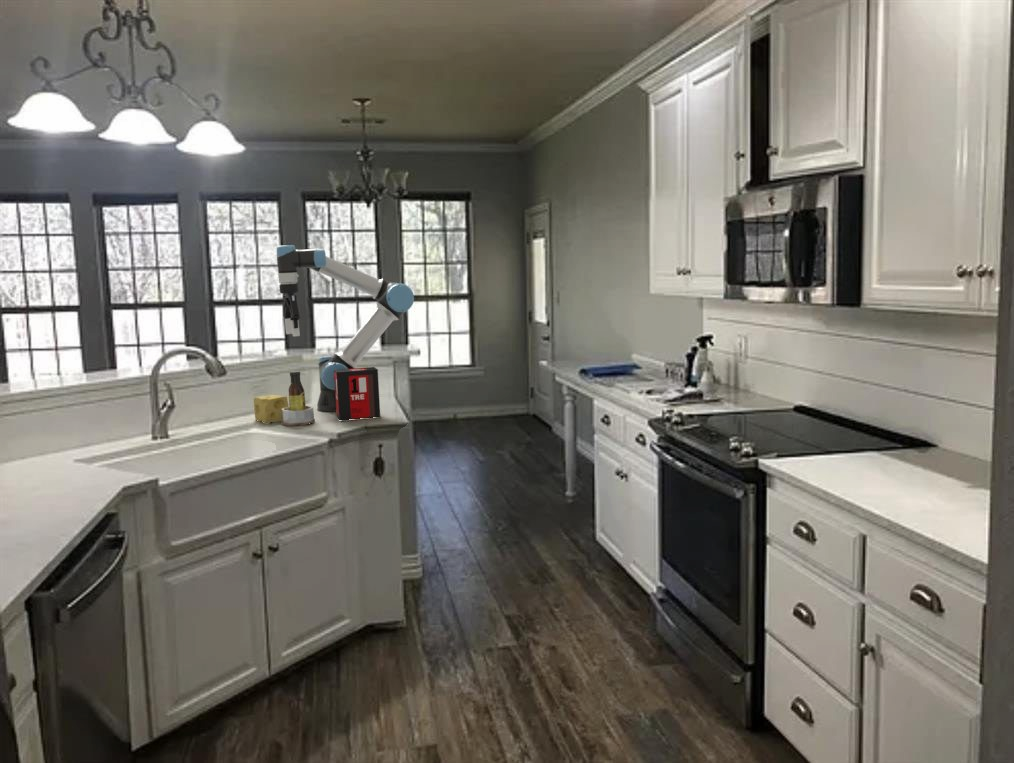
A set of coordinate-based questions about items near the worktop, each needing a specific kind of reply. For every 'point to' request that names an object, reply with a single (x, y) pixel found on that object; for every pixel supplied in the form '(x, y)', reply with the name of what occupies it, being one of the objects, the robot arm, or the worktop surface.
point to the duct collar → (297, 415)
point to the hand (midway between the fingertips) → (292, 335)
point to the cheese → (269, 408)
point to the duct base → (297, 423)
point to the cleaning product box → (357, 393)
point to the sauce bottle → (296, 393)
